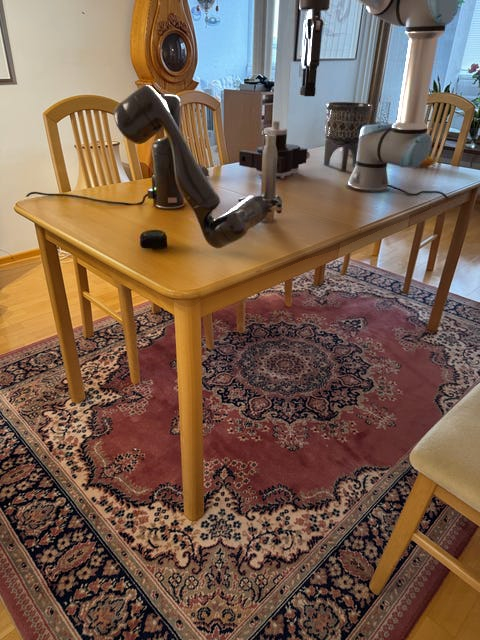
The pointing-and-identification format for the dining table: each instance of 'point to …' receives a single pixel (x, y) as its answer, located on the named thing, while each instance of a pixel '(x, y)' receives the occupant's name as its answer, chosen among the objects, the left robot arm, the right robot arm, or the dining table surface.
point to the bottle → (269, 172)
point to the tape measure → (153, 239)
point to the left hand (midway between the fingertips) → (270, 197)
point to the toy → (427, 162)
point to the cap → (303, 90)
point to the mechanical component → (286, 153)
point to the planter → (345, 128)
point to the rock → (204, 170)
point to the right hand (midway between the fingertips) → (307, 95)
